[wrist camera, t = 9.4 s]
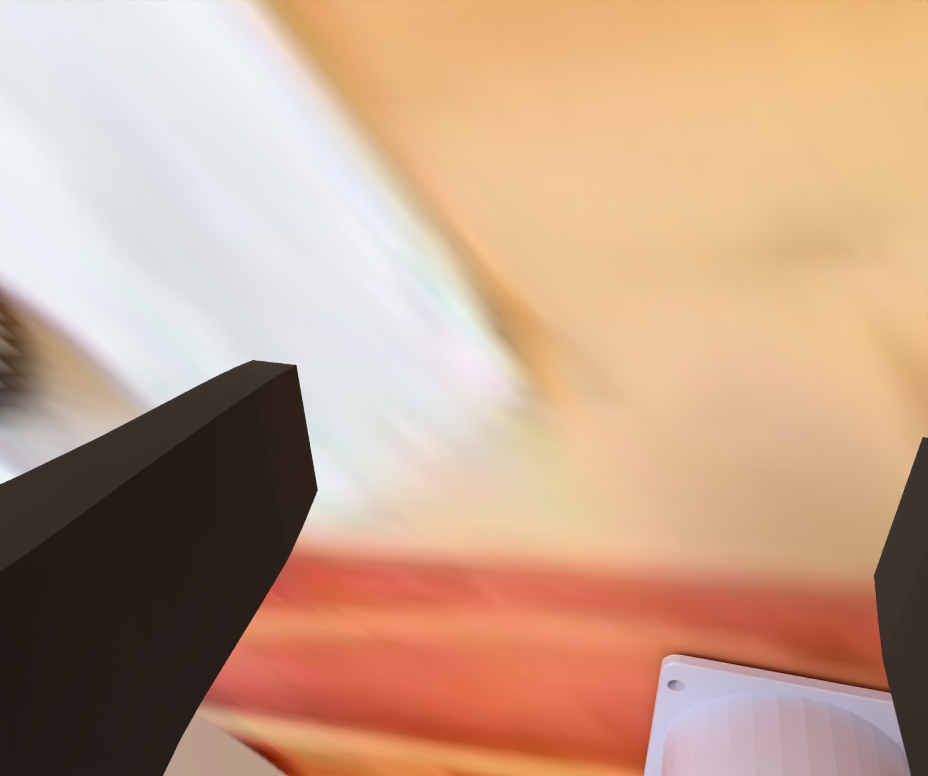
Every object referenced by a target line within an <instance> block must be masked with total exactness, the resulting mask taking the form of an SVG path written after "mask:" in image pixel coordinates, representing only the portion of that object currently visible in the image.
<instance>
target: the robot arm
mask: <svg viewBox="0 0 928 776" xmlns="http://www.w3.org/2000/svg"><path fill="white" fill-rule="evenodd" d="M317 491H318V489H317V483H316V477H315V471H314V466H313V460H312V454H311V448H310V442H309V436H308V430H307V425H306V419H305V413H304V407H303V401H302V395H301V389H300V384H299V378H298V372H297V366H296V365H290V364H282V363H273V362H264V361H256V360H252V361H250V362H247V363H245V364H242V365H240V366H237V367H235V368H233V369H231V370H229V371H227V372H224V373H222V374H220V375H218V376H216V377H214V378H212V379H210V380H208V381H206V382H204V383H202V384H200V385H199V386H197V387H195V388H193V389H191V390H189V391H187V392H185V393H183V394H181V395H179V396H177V397H176V398H174V399H172V400H170V401H168V402H166V403H164V404H162V405H160V406H158V407H156V408H155V409H153V410H151V411H149V412H147V413H145V414H143V415H141V416H139V417H137V418H135V419H134V420H132V421H130V422H128V423H126V424H124V425H122V426H120V427H118V428H116V429H114V430H112V431H111V432H109V433H107V434H105V435H103V436H101V437H99V438H97V439H95V440H93V441H91V442H88V443H86V444H84V445H82V446H80V447H78V448H76V449H74V450H72V451H70V452H68V453H66V454H64V455H61V456H59V457H57V458H55V459H53V460H51V461H49V462H47V463H45V464H43V465H41V466H39V467H36V468H34V469H32V470H30V471H28V472H26V473H24V474H22V475H20V476H18V477H16V478H13V479H11V480H9V481H7V482H4V483H2V484H0V776H163V774H164V772H165V770H166V768H167V766H168V764H169V762H170V760H171V758H172V756H173V754H174V751H175V750H176V747H177V745H178V743H179V741H180V739H181V737H182V735H183V734H184V732H185V730H186V728H187V727H188V725H189V723H190V721H191V719H192V718H193V716H194V714H195V712H196V710H197V709H198V707H199V705H200V703H201V702H202V700H203V698H204V697H205V695H206V694H207V692H208V690H209V689H210V687H211V685H212V684H213V682H214V680H215V679H216V677H217V676H218V674H219V672H220V671H221V669H222V667H223V666H224V664H225V662H226V661H227V659H228V658H229V656H230V654H231V653H232V651H233V649H234V648H235V646H236V644H237V643H238V641H239V640H240V638H241V636H242V635H243V633H244V631H245V630H246V628H247V627H248V625H249V623H250V622H251V620H252V618H253V617H254V615H255V613H256V612H257V610H258V609H259V607H260V605H261V604H262V602H263V600H264V599H265V597H266V595H267V593H268V592H269V590H270V588H271V587H272V585H273V583H274V582H275V580H276V578H277V577H278V575H279V573H280V572H281V570H282V568H283V567H284V565H285V563H286V561H287V560H288V558H289V556H290V554H291V552H292V549H293V547H294V545H295V543H296V541H297V538H298V536H299V534H300V532H301V529H302V527H303V525H304V522H305V520H306V518H307V515H308V513H309V510H310V508H311V505H312V503H313V500H314V498H315V496H316V493H317ZM874 579H875V590H876V601H877V612H878V622H879V631H880V639H881V648H882V656H883V662H884V667H885V671H886V675H887V680H888V684H889V688H890V692H891V693H888V692H882V691H877V690H871V689H866V688H861V687H855V686H850V685H844V684H839V683H833V682H828V681H822V680H817V679H811V678H806V677H800V676H795V675H789V674H784V673H778V672H773V671H767V670H762V669H756V668H751V667H746V666H740V665H735V664H729V663H724V662H718V661H713V660H707V659H702V658H696V657H691V656H685V655H678V654H673V655H669V656H667V657H665V658H664V659H663V661H662V664H661V670H660V676H659V683H658V689H657V695H656V701H655V707H654V714H653V720H652V726H651V732H650V738H649V745H648V751H647V757H646V763H645V769H644V776H928V438H925V437H923V438H922V441H921V444H920V446H919V449H918V452H917V455H916V458H915V461H914V463H913V466H912V469H911V472H910V475H909V478H908V481H907V483H906V486H905V489H904V492H903V495H902V498H901V500H900V503H899V506H898V509H897V512H896V515H895V517H894V520H893V523H892V526H891V529H890V532H889V534H888V537H887V540H886V543H885V546H884V549H883V551H882V554H881V557H880V560H879V563H878V566H877V568H876V571H875V574H874Z"/></svg>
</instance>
